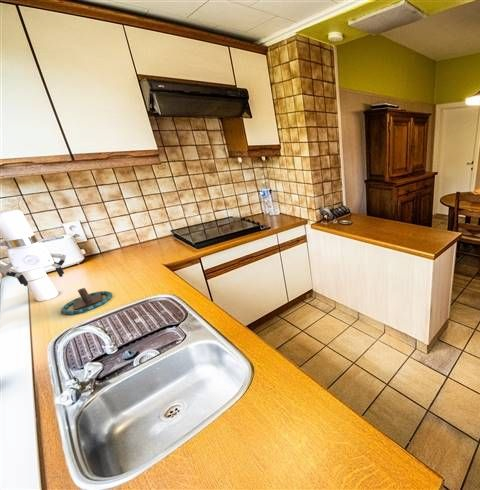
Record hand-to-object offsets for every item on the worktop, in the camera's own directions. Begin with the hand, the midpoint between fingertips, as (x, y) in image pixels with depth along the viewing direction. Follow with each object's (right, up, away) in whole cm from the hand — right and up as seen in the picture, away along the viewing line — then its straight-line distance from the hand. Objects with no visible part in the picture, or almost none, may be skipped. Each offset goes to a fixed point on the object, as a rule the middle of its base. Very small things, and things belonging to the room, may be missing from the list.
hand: (44, 280), depth 109 cm
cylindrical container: (-21, -11, +19) cm, 30 cm away
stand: (+6, -12, +12) cm, 18 cm away
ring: (+6, -12, +11) cm, 17 cm away
